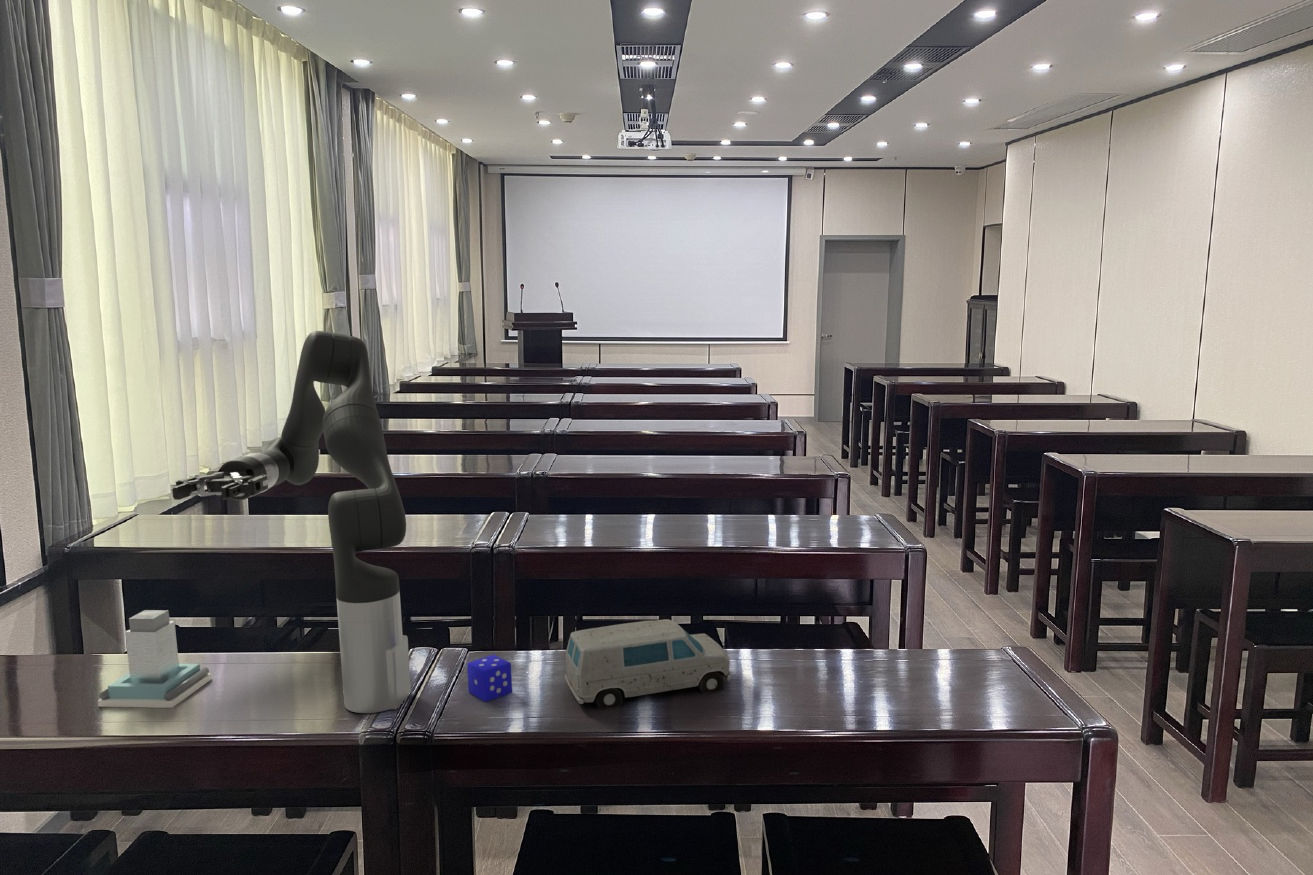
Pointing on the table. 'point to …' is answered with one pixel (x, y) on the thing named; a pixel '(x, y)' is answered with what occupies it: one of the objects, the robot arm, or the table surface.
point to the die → (489, 677)
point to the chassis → (155, 689)
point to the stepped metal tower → (152, 647)
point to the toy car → (641, 662)
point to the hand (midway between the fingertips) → (199, 493)
